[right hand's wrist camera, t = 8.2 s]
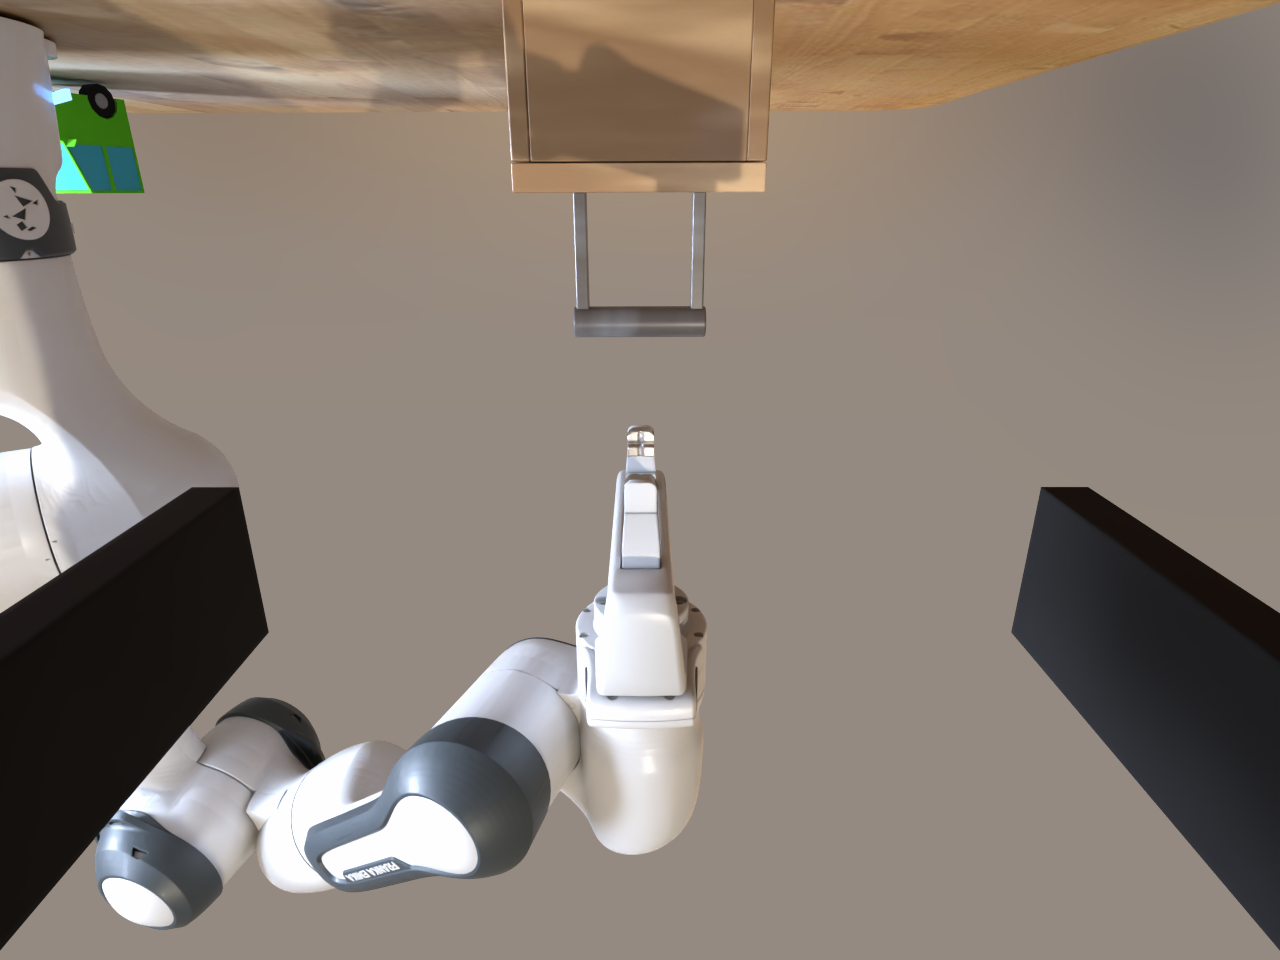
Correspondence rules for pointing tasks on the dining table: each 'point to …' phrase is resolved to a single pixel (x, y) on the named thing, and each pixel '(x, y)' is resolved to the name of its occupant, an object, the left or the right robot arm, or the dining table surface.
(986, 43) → the dining table surface
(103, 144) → the toy car
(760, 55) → the chest
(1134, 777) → the right robot arm
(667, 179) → the lid
